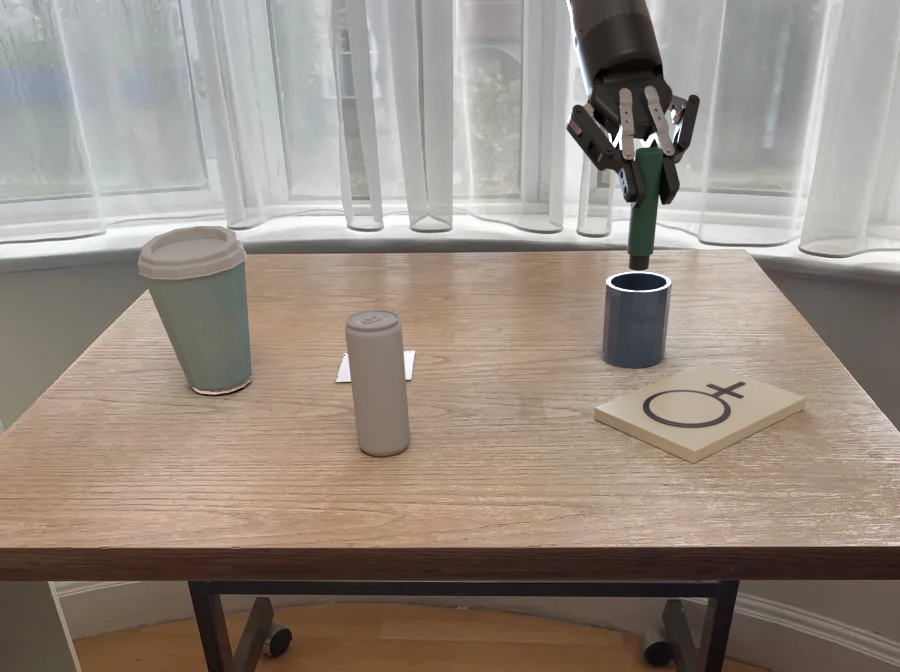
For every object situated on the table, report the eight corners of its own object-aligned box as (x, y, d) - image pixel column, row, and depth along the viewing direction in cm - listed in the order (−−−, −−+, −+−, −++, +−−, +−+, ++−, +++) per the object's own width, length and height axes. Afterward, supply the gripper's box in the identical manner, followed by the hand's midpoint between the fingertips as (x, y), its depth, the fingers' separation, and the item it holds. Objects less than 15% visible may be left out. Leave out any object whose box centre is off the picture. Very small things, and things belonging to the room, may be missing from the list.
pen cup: (630, 340, 101) (636, 267, 96) (676, 356, 97) (685, 281, 92) (588, 355, 98) (592, 281, 93) (634, 373, 94) (640, 296, 89)
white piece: (411, 379, 94) (410, 372, 94) (335, 382, 95) (334, 374, 94) (415, 350, 101) (414, 343, 100) (344, 353, 101) (343, 346, 101)
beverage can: (421, 445, 83) (412, 316, 75) (382, 464, 80) (369, 332, 73) (387, 429, 86) (375, 304, 78) (347, 447, 83) (332, 319, 76)
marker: (637, 261, 93) (648, 145, 86) (656, 267, 92) (669, 149, 85) (620, 267, 92) (629, 150, 85) (639, 273, 90) (650, 154, 84)
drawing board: (703, 372, 93) (705, 359, 92) (804, 409, 85) (807, 395, 84) (593, 419, 85) (594, 405, 85) (693, 463, 78) (695, 449, 77)
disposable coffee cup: (258, 404, 91) (229, 252, 82) (154, 407, 92) (115, 256, 83) (277, 363, 100) (254, 221, 91) (182, 366, 100) (149, 225, 91)
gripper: (556, 14, 83) (598, 185, 81) (695, 4, 86) (739, 170, 83) (537, 73, 91) (574, 231, 88) (665, 63, 93) (705, 216, 91)
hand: (654, 200), depth 86 cm, fingers closed on marker, 2 cm apart
